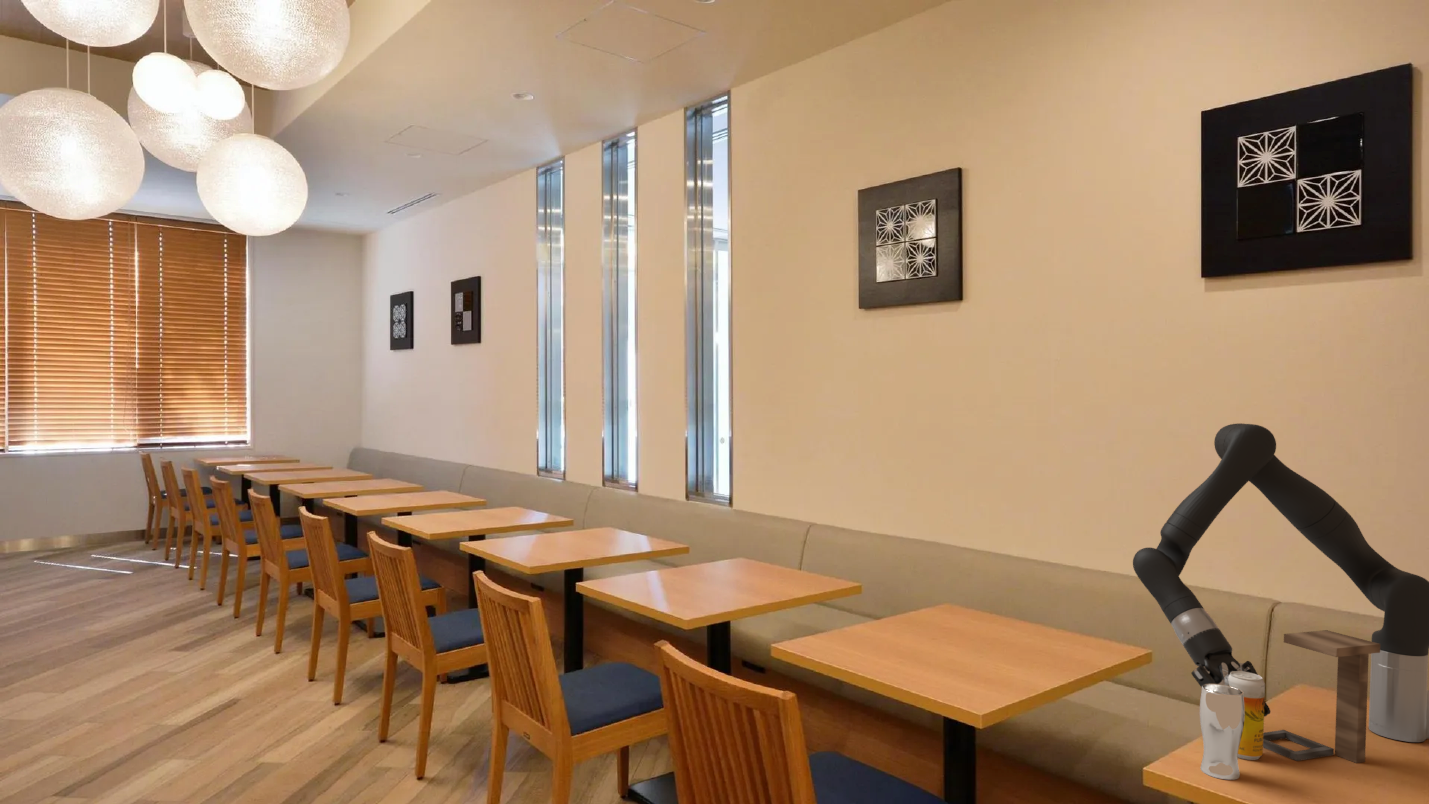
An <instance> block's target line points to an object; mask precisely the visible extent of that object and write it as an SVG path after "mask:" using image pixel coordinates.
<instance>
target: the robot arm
mask: <svg viewBox="0 0 1429 804" xmlns="http://www.w3.org/2000/svg"><path fill="white" fill-rule="evenodd" d="M1213 444H1214V451H1215V452H1216V454H1217V455H1218V458H1220V459H1221V460H1220V462H1219V463H1218V465H1216V467H1215V469H1214V470H1213V471H1212V472H1211V474H1210V475H1209V476H1208V477H1207V478H1206V479H1205V480H1204V481H1202V483H1201V484H1199V486H1197V487H1196V488H1195V489H1194V490H1193V491H1191V493H1189V494H1188V495H1187V496H1186V497H1185V498H1184V499H1183V500H1182V501H1181V502H1180V503H1179V504H1178V506H1176V508H1175V510H1173V512H1172V514H1171V515H1170V516H1169V517H1168V519H1167V520H1166V522H1165V523H1164V524H1163V526H1162V528H1161V529H1160V536H1161V539H1160V540H1159V541H1160V542H1159V543H1158V545H1157V546H1156V548H1154V547H1144V548H1141V549H1139V550H1138V551H1136V553H1135V554H1134V556H1133V559H1132V566H1133V568H1132V569H1133V571H1134V572H1135V575H1136V576H1137V577H1138V579H1139V581H1140V582H1141V583H1142V584H1143V586H1144V587H1145V588H1146V590H1148V592H1149V594H1150V595H1151V596H1152V597H1153V598H1154V599H1155V601H1156V602H1157V604H1158V605H1159V607H1160V609H1161V611H1162V612H1163V614H1164V616H1165V617H1166V619H1167V620H1168V622H1169V624H1170V625H1171V627H1172V629H1173V630H1174V633H1175V635H1176V637H1177V638H1178V640H1179V642H1180V643H1181V644H1182V646H1183V648H1184V649H1185V650H1186V653H1187V654H1188V655H1189V657H1190V658H1191V661H1193V663H1194V665H1195V666H1196V667H1197V668H1194V670H1192V672H1191V675H1192V678H1194V679H1195V681H1196V682H1197V683H1198V685H1199V686H1200V688H1202V685H1204V684H1222V685H1228V686H1229V682H1228V677H1229V675H1230V672H1232V671H1243V672H1249V673H1254V674H1257V675H1259V674H1258V672H1257V670H1256V668H1255V666H1254V665H1253V663H1252V662H1251V661H1250V660H1246V661H1244V662H1239V661H1238V660H1236V658H1235V657H1234V656H1233V654H1232V653H1233V647H1232V645H1231V644H1230V642H1229V641H1228V640H1227V638H1226V636H1225V635H1224V634H1223V632H1222V631H1221V629H1220V628H1219V626H1218V625H1217V623H1216V622H1215V621H1214V619H1213V617H1211V615H1210V614H1209V613H1208V611H1206V610H1205V608H1204V607H1203V605H1202V604H1201V601H1200V600H1199V599H1198V598H1197V596H1196V595H1195V594H1194V592H1193V591H1192V590H1191V589H1190V588H1189V587H1188V586H1187V585H1186V584H1185V583H1184V582H1183V581H1182V579H1181V578H1180V575H1181V574H1182V572H1183V570H1184V568H1185V566H1186V563H1187V562H1188V560H1189V558H1190V554H1191V552H1192V551H1193V548H1194V547H1195V546H1196V545H1197V544H1198V542H1199V541H1200V540H1201V539H1202V537H1203V536H1204V534H1205V532H1206V531H1207V530H1208V528H1209V527H1210V526H1211V525H1212V523H1213V522H1214V521H1215V519H1216V518H1217V517H1218V516H1219V514H1220V513H1221V512H1222V511H1223V509H1224V508H1225V507H1226V506H1227V504H1228V503H1229V502H1230V501H1231V500H1232V499H1233V498H1234V497H1235V495H1236V494H1237V493H1239V491H1240V490H1241V489H1242V488H1243V487H1244V486H1245V485H1246V484H1247V483H1248V482H1250V483H1251V484H1252V485H1253V486H1254V487H1256V489H1258V490H1259V491H1260V492H1261V494H1262V495H1263V496H1264V497H1266V499H1267V500H1268V501H1269V502H1270V503H1271V505H1273V507H1275V508H1276V510H1278V512H1280V514H1282V515H1283V517H1284V518H1285V519H1287V521H1288V522H1289V523H1290V524H1291V525H1292V526H1293V527H1294V528H1295V529H1296V530H1297V531H1298V532H1299V533H1300V534H1302V536H1304V537H1305V538H1306V539H1307V541H1309V542H1310V543H1311V544H1312V545H1314V546H1315V547H1316V548H1317V549H1318V550H1319V551H1320V552H1321V553H1323V554H1324V555H1325V556H1326V557H1327V558H1328V559H1329V560H1331V561H1332V562H1333V563H1335V564H1336V565H1337V566H1338V567H1339V568H1340V569H1341V570H1342V571H1343V572H1344V573H1345V574H1346V575H1347V577H1348V578H1350V580H1351V581H1352V582H1353V583H1354V585H1355V586H1356V587H1357V588H1358V589H1359V591H1360V592H1361V593H1362V594H1363V595H1364V596H1365V598H1366V599H1367V600H1368V601H1369V602H1370V603H1371V604H1372V605H1373V606H1374V607H1376V608H1377V609H1379V610H1380V611H1383V612H1384V615H1383V623H1382V624H1383V625H1382V628H1380V629H1379V630H1374V632H1372V634H1371V642H1375V643H1379V644H1380V653H1371V654H1370V677H1369V679H1370V681H1369V682H1370V683H1369V684H1370V685H1369V707H1368V708H1369V709H1368V710H1369V711H1368V729H1369V731H1371V732H1372V733H1373V734H1376V735H1378V736H1381V737H1385V738H1388V739H1392V740H1395V741H1403V742H1409V743H1421V742H1422V743H1423V742H1425V741H1426V740H1427V739H1429V689H1428V681H1429V680H1428V679H1429V678H1428V677H1429V676H1428V675H1429V671H1428V670H1429V669H1428V668H1429V580H1427V579H1426V578H1425V577H1422V576H1420V575H1418V574H1414V573H1410V572H1408V571H1404V570H1401V569H1400V568H1398V567H1396V566H1394V565H1393V564H1391V563H1390V562H1389V561H1388V560H1386V559H1385V558H1384V557H1383V555H1380V554H1379V553H1378V552H1377V551H1376V550H1375V549H1374V548H1373V547H1372V546H1371V545H1370V544H1369V543H1368V542H1367V540H1366V538H1365V536H1364V535H1363V532H1362V530H1361V529H1360V527H1359V526H1358V523H1357V521H1355V519H1354V518H1353V517H1352V515H1351V514H1350V513H1349V512H1348V511H1347V510H1346V508H1344V507H1343V506H1342V505H1341V504H1340V503H1339V502H1338V501H1337V500H1335V499H1334V497H1332V496H1331V495H1330V494H1329V493H1327V492H1326V491H1325V490H1324V489H1322V488H1321V487H1320V486H1318V485H1316V484H1315V483H1314V482H1311V481H1310V480H1309V479H1307V478H1305V477H1304V476H1302V475H1301V474H1299V473H1298V472H1295V471H1294V470H1292V469H1291V468H1290V467H1288V466H1287V465H1286V464H1285V463H1283V462H1282V461H1281V460H1280V459H1279V458H1278V457H1277V456H1276V455H1275V454H1276V450H1277V440H1276V438H1275V435H1274V434H1273V433H1272V432H1271V431H1270V429H1268V428H1266V427H1264V426H1262V425H1259V424H1252V423H1241V422H1240V423H1231V424H1228V425H1224V426H1223V427H1221V428H1220V429H1219V430H1218V431H1217V432H1216V434H1215V437H1214V443H1213ZM1270 714H1271V709H1270V707H1269V705H1268V704H1267V702H1266V701H1264V718H1265V717H1267V716H1268V715H1270Z"/></svg>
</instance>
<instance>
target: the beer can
mask: <svg viewBox="0 0 1429 804" xmlns="http://www.w3.org/2000/svg"><path fill="white" fill-rule="evenodd" d="M1257 674H1258V673H1257ZM1257 674H1254V673H1249V672H1243V671H1232V672H1230V675H1229V677H1228V682H1229V686H1232V687H1235V688H1238V689H1240V690H1242V691H1243V692H1244V708H1245V718H1244V727H1243V733H1242V737H1241V741H1240V745H1239V750H1238V759H1242V760H1247V761H1257V760H1259V759H1260V757H1262V756H1263V753H1264V748H1263V733H1264V732H1265V731H1264V728H1265V726H1264V722H1265V717H1264V701H1265V700H1266V699H1265V696H1266V693H1265V692H1266V683H1265V681H1264V679H1263V677H1262V676H1261V675H1259V674H1258V675H1257ZM1265 702H1266V701H1265Z"/></svg>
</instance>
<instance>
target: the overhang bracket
mask: <svg viewBox="0 0 1429 804" xmlns="http://www.w3.org/2000/svg"><path fill="white" fill-rule="evenodd" d="M1283 643H1284V644H1288V645H1291V646H1295V647H1298V648H1303V649H1306V650H1310V651H1313V652H1316V653H1320V654H1324V655H1328V656H1331V657H1335V658H1337V671H1336V672H1337V675H1336V680H1337V681H1336V704H1335V706H1336V707H1335V709H1336V710H1335V734H1334V748H1333V747H1331V746H1328V745H1325V744H1323V743H1320V742H1317V741H1315V740H1312V739H1309V738H1307V737H1304V736H1301V735H1300V734H1296V733H1293V732H1292V731H1291V732H1290V731H1288V730H1287V729H1286V730H1285V729H1279V730H1272V731H1267V732H1265V731H1263V749H1266V750H1268V751H1271V752H1273V753H1276V754H1278V755H1280V756H1283V757H1285V758H1288V759H1291V760H1293V761H1296V762H1299V761H1303V760H1304V761H1306V760H1311V759H1317V758H1318V759H1319V758H1323V757H1324V758H1325V757H1329V756H1334V755H1335V756H1337V757H1339V758H1341V759H1345V760H1347V761H1350V762H1353V763H1354V764H1359V763H1364V762H1366V744H1367V743H1366V742H1367V741H1366V740H1367V714H1368V712H1367V711H1368V685H1369V683H1368V682H1369V659H1370V658H1369V655H1371V653H1380V644H1379V643H1375V642H1372V640H1367V639H1363V638H1359V637H1355V636H1350V635H1348V634H1343V633H1339V632H1334V631H1331V630H1327V629H1326V630H1313V631H1302V632H1301V631H1300V632H1291V633H1284V634H1283ZM1283 739H1285V740H1288V741H1290V742H1292V743H1295V744H1298V745H1301V746H1303V747H1306V748H1307V749H1302V750H1292V749H1290V748H1287V747H1285V746H1283V745H1280V744H1277V743H1275V742H1273V741H1276V740H1277V741H1278V740H1283ZM1308 748H1309V749H1308Z"/></svg>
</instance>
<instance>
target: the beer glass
mask: <svg viewBox="0 0 1429 804" xmlns="http://www.w3.org/2000/svg"><path fill="white" fill-rule="evenodd" d="M1244 718H1245V708H1244V692H1243V691H1242V690H1240V689H1238V688H1235V687H1232V686H1228V685H1222V684H1204V685H1202V687H1201V694H1200V700H1199V722H1200V723H1199V724H1200V728H1201V729H1200V730H1201V736H1202V741H1203V743H1202V744H1203V755H1202V760H1201V764H1200V771H1201V772H1202V773H1204V774H1205V775H1207V776H1209V777H1212V778H1215V779H1220V780H1227V781H1233V780H1238V779H1239V778H1240V775H1241V774H1240V768H1239V761H1238V759H1239V758H1238V750H1239V745H1240V741H1241V737H1242V733H1243V727H1244Z"/></svg>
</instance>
